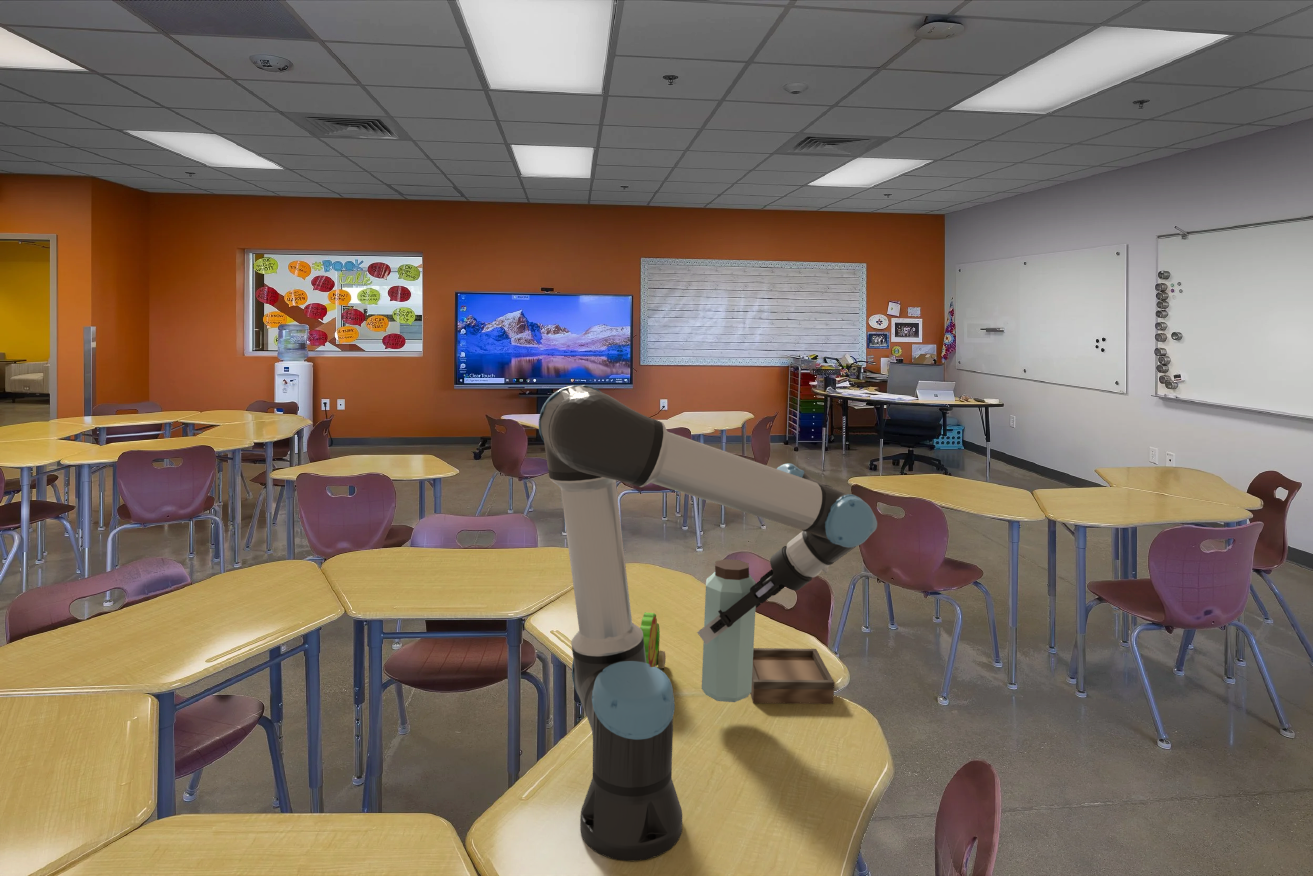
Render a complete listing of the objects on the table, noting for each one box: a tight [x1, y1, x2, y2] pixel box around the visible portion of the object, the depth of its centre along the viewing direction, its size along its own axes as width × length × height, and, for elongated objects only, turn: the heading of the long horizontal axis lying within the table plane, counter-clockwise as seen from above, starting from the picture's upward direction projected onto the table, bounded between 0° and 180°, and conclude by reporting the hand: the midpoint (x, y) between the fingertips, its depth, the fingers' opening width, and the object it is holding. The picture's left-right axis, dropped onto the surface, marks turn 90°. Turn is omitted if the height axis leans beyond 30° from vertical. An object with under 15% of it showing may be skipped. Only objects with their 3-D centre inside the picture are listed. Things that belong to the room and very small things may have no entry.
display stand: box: [749, 647, 835, 705], centre depth 161 cm, size 16×16×4 cm
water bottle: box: [701, 558, 757, 703], centre depth 144 cm, size 10×10×25 cm
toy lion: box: [639, 612, 667, 669], centre depth 161 cm, size 16×5×15 cm, turn 171°
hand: (714, 628), depth 145 cm, fingers closed on water bottle, 10 cm apart
